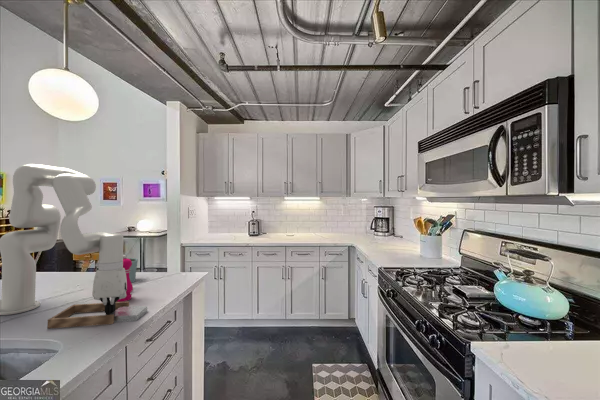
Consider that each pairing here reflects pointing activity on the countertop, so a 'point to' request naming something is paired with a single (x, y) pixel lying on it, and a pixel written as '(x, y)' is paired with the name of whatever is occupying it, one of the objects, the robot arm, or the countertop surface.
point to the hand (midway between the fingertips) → (110, 313)
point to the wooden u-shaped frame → (66, 321)
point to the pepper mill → (127, 264)
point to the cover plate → (129, 313)
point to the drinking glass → (133, 269)
